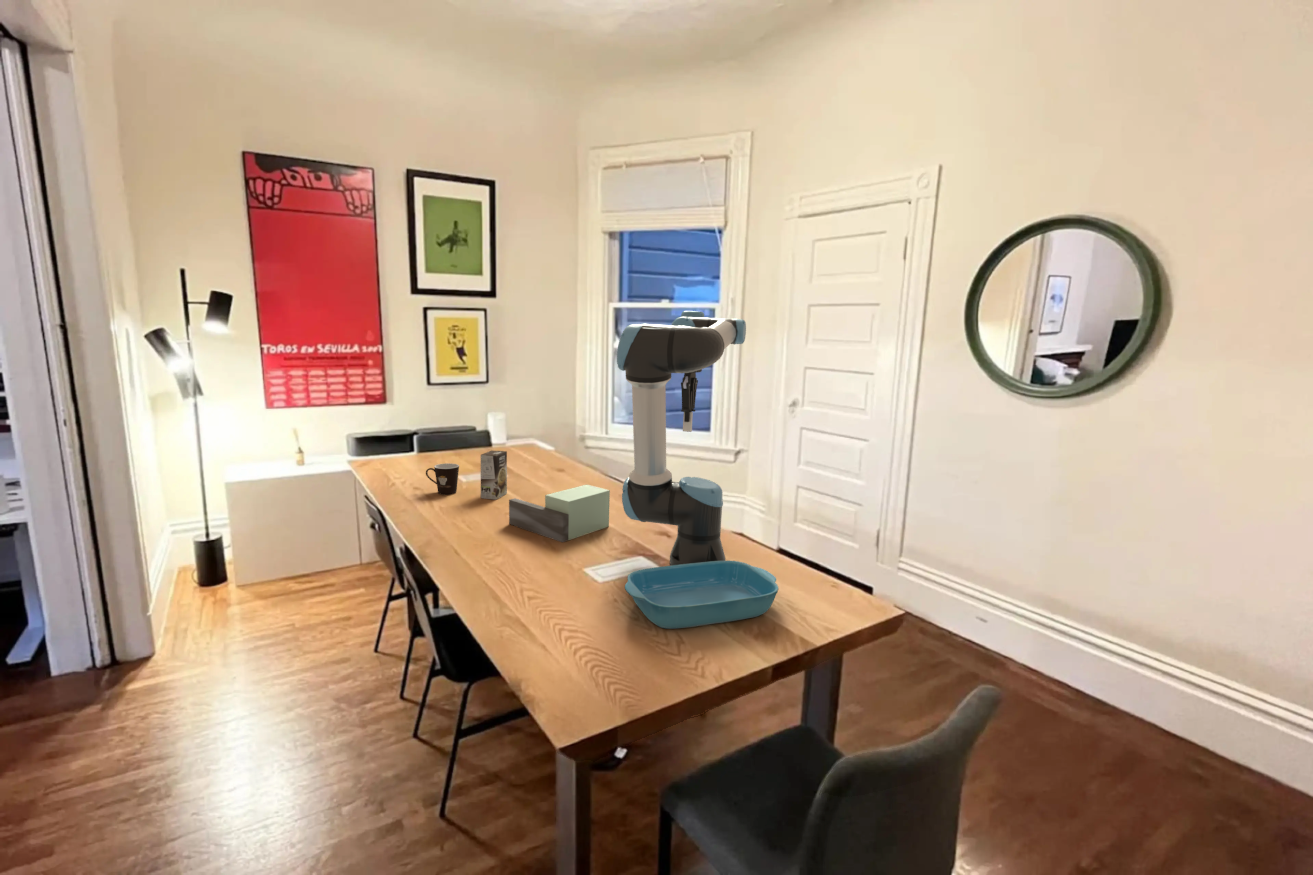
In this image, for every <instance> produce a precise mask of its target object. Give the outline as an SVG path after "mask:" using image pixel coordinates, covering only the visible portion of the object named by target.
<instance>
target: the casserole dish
mask: <svg viewBox="0 0 1313 875" xmlns="http://www.w3.org/2000/svg"><path fill="white" fill-rule="evenodd" d="M624 589H625V592H626V593H627V594H628V595H629V596H630V597H631V598H632V600H633V601H634V603H635V604H636V606H637V607H638V608H639V609H640V611H641V612H642V614H644V616H645V617H646V618H647V619H648V620H649V621H650V622H651V623H653V624H654V625H656V626H657V627H659V628H662V629H670V630H671V629H684V628H685V629H686V628H695V627H701V626H702V627H703V626H709V625H716V624H723V623H729V622H736V621H741V620H745V619H746V620H747V619H750V618H756V617H759V616H761V615H763V614H765V613H766V612H768V611H769V609H770V608H771V606H772V605H773V602H774V601H775V598H776V596H777V594H778V591H779V586H778V584H777V577H776V576H775V575H774V574H772V573H771V572H769V571H768V570H767V569H764V568H761V567H758V566H754V565H750V563H746V562H743V561H739V560H725V561H710V562H700V563H690V564H681V565H672V566H671V565H664V566H663V565H662V566H656V567H648V568H647V567H646V568H641V569H637V570H634V571H631V572H629V574H628V575H627V582H626V583H625V585H624Z"/></svg>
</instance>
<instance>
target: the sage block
mask: <svg viewBox="0 0 1313 875" xmlns="http://www.w3.org/2000/svg"><path fill="white" fill-rule="evenodd" d="M610 493H611V492H610V490H609V489H607V488H603V487H599V486H595V485H590V484H583V485H580V486H576V487H572V488H567V489H564V490H559V491H556V492H552V493H548V494H545V496H544V497H545V498H544V504H545V505H544V507H546V508H549V509H553V510H556V511H559V512H562V513H566V514H569V533H568V541H570V540H574V539H576V538H580V537H582V536H585V535H587V534H590V533H591V534H592V533H594V532H597V531H600V530H603V529H606V528H609V527H610V498H611V497H610V495H611V494H610Z"/></svg>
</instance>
